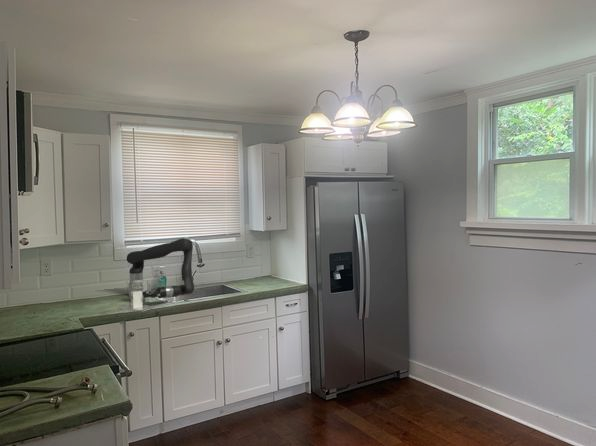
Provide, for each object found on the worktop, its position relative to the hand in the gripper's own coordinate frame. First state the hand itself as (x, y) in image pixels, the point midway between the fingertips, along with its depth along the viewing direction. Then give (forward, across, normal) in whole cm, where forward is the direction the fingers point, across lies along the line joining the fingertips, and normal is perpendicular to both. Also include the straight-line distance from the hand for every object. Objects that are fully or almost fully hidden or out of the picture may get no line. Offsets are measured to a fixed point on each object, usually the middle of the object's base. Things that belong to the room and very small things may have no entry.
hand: (141, 295), depth 296 cm
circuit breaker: (-7, -18, +8) cm, 22 cm away
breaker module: (+3, 0, +8) cm, 8 cm away
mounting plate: (+3, 0, +8) cm, 9 cm away
